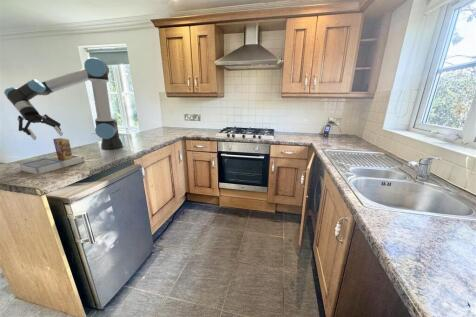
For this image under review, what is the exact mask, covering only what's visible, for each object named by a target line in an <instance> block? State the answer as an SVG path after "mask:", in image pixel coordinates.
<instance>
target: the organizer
mask: <svg viewBox="0 0 476 317" xmlns="http://www.w3.org/2000/svg"><path fill="white" fill-rule="evenodd" d="M72 157H73V159H69V160H65V161H60V160H58V157H57V155H56V156H52V157H44V158H38V159H34V160H30V161H25V162H21V163H19V166H20V169H21V171H22V172H26V173H28V174H29V173H30V174H35V175H40V174H45V173H48V172H52V171H56V170H59V169H63V168H66V167H70V166H73V165H74V166H75V165H77V164H80V163H84V162H85V158H84V156H82V155H77V154H74V153H72Z"/></svg>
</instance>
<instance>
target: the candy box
mask: <svg viewBox="0 0 476 317" xmlns="http://www.w3.org/2000/svg"><path fill="white" fill-rule="evenodd" d="M53 146H54V149H55V152H56V156H57V157H58V160H60V161H65V160H69V159H73V157H72V154H73V153H72V148H71V143H70V139H68V138H63V137H58V138H53Z"/></svg>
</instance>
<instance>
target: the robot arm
mask: <svg viewBox="0 0 476 317" xmlns="http://www.w3.org/2000/svg"><path fill="white" fill-rule="evenodd" d="M83 64H84V65H83V66H84V68H82V69H78V70H75V71H73V72H70V73H65V74H63V75H61V76H57V77H54V78H51V79H48V80H45V81H39V80H38V79H34V78H33V79H31V80H29V81H27V82H26V83H24V84H23V85H21V86H20V87H18V88H17V87H8V88H6V89H5V90H4V92H3V93H4V95H5V96H6V98H7V100H8V101H9V102H10V103H11V104H12V105H13V106H14V108H15V109H16V110H17V112H19V114H20V115H18V117H17V121H18V132H23V133H25V134H26V135H28V136H30V137H31V139H32V140H33V141H36V139H37V136H36V134H35V133H34V132H33V131H32V130H31V129H30V128H29V127H30V125H31V123H33V124H36V123H37V124H39V123H41V124H45V125H47V126H50V127H52V128H54V130H55V131H56V132H57V134H58V136H60V137H63V134H64V133H63V131H62V129H61V127H60V126H61V123H60V122H58V121H56V120H55V119H54V118H52V117H50V116H48V114H44V115H41V114H40V113H39V111H38V110H37V109H36V108H35V106H34V105H33V104H32V103H31V101H30V100H32V99H34V98H35V97H36V96H49V95H51V94H52V93H55V92H57V91H60V90H61V91H62V90H64V89H66V88H70V87H72V86H76V85H78V84H81V83H84V82H88V81H90V82H91V87H92V92H93V93H92V96H93V99H94V106H95V112H96V119H94V123H95V129H94V132H95V134H96V135H97V137H99V138H101V144H100V148H101V149H102V150H116V149H120V148H123V147H124V145H123V143H122V140H121V138H120V134H119V129H118V122H117V119H116V118H113V117H112V113H111V105H110V99H109V90H108V84H107V83H108V82H109V80H110V79H109V73H110V69H109V66H108V64H106V62H104V61H103V60H102V59H100V58H98V57H88V58H87V59H86V60H85V61H84V63H83ZM24 121H27V122H26V124H25V126H24V127H23V125H24V124H23V123H24Z"/></svg>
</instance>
